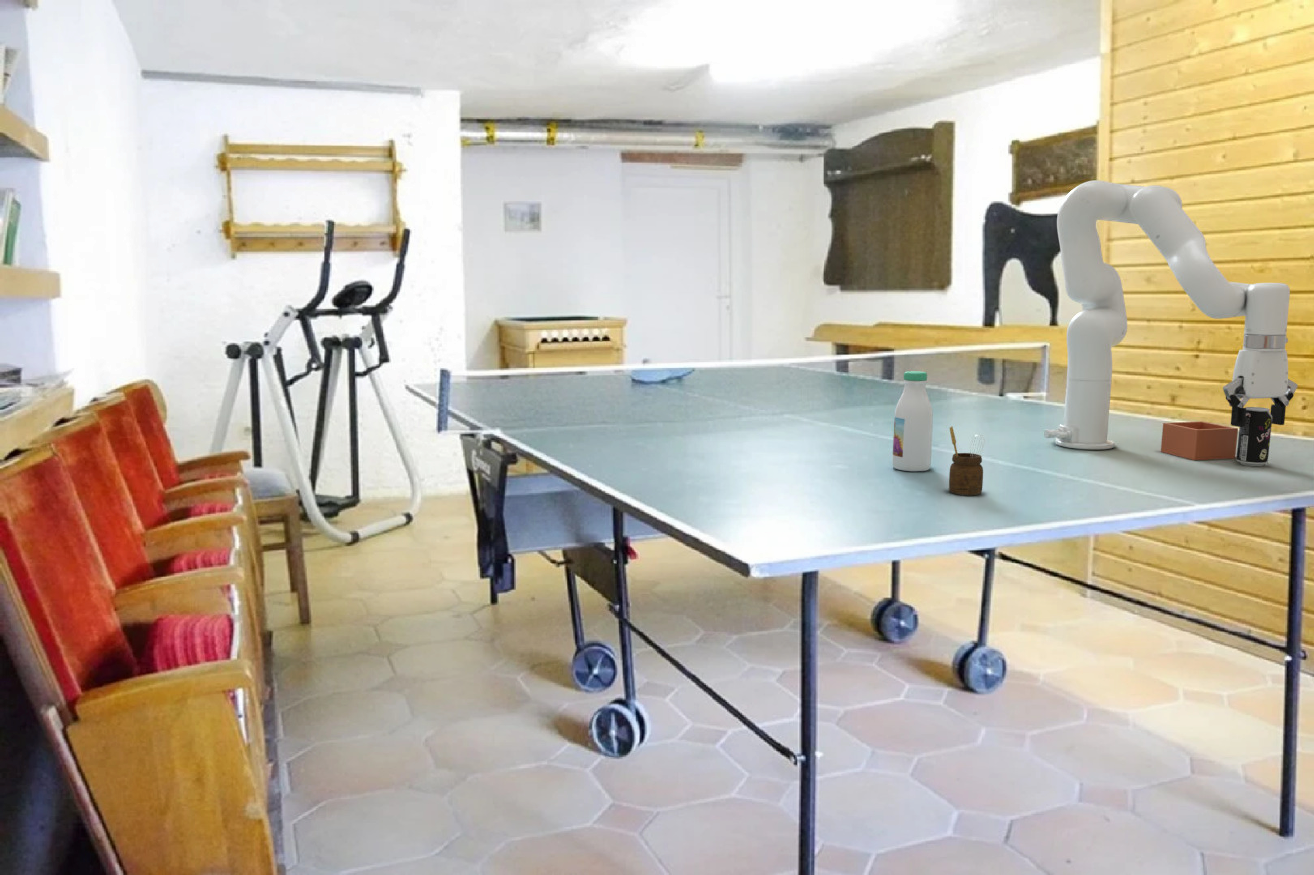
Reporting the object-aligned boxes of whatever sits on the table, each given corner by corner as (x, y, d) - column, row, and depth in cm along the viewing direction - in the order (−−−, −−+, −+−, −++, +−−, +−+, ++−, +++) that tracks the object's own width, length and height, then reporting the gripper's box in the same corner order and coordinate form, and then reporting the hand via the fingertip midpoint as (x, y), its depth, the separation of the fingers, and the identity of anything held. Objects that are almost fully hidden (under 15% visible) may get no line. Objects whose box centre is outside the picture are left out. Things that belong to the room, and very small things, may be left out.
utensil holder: (977, 497, 183) (981, 431, 181) (942, 493, 186) (945, 428, 184) (986, 491, 188) (989, 427, 186) (952, 487, 191) (955, 424, 189)
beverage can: (1267, 463, 214) (1273, 407, 212) (1266, 468, 210) (1272, 410, 208) (1236, 460, 217) (1242, 405, 215) (1235, 465, 213) (1240, 408, 211)
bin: (1194, 460, 218) (1197, 430, 217) (1160, 451, 228) (1163, 422, 227) (1235, 458, 220) (1238, 428, 219) (1200, 449, 230) (1202, 421, 229)
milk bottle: (933, 466, 211) (938, 371, 208) (926, 473, 204) (931, 374, 201) (896, 463, 214) (900, 369, 211) (888, 470, 207) (892, 372, 204)
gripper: (1284, 341, 215) (1277, 421, 217) (1214, 343, 211) (1208, 424, 214) (1314, 343, 207) (1306, 426, 210) (1242, 345, 204) (1236, 429, 206)
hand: (1257, 425), depth 212 cm, fingers open, 9 cm apart
